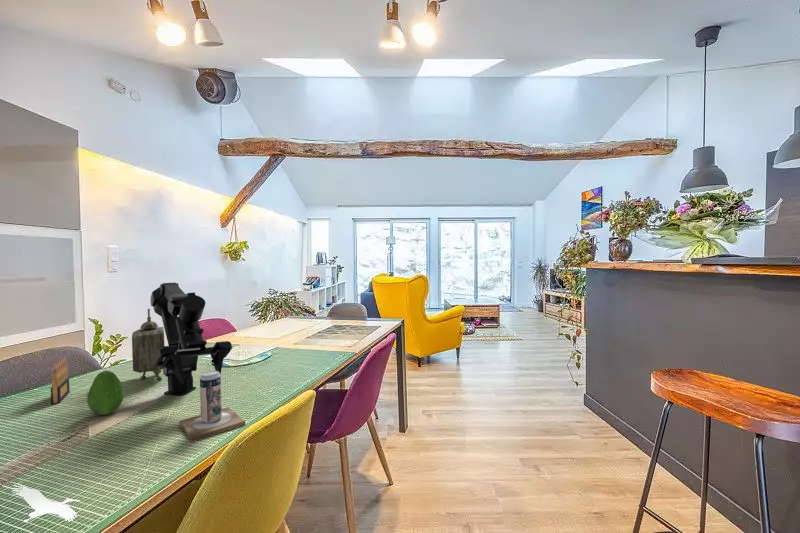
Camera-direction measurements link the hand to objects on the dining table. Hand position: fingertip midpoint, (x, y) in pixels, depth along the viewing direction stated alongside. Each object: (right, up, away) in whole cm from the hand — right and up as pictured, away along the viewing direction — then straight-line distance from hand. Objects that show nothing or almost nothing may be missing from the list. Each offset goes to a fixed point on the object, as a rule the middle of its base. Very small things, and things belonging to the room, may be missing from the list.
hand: (201, 379), depth 99 cm
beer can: (+6, -9, -6) cm, 12 cm away
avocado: (-27, -10, +2) cm, 29 cm away
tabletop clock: (-35, -10, +31) cm, 48 cm away
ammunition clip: (-51, -10, +14) cm, 54 cm away
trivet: (+6, -10, -6) cm, 13 cm away
